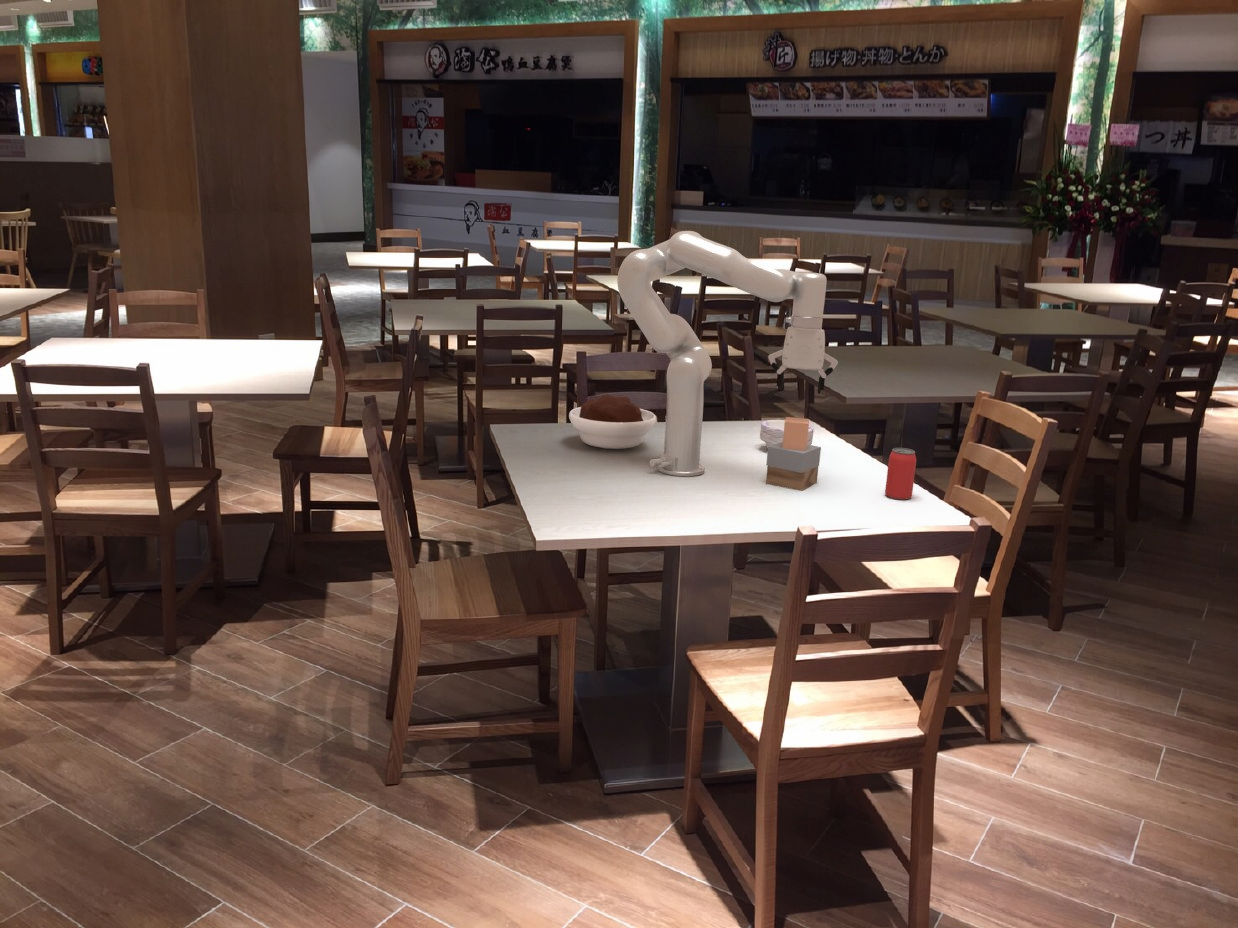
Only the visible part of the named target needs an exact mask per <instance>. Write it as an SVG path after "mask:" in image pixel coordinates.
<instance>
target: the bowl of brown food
mask: <svg viewBox="0 0 1238 928" xmlns="http://www.w3.org/2000/svg"><path fill="white" fill-rule="evenodd" d="M568 418H569V421H570V423H571V425H572V426H573V427H574V429H576V431H577V433H578V436H579V438H580V439H581V440H580V441H582V442H583V443H584V444H587V445H589V446H590V447H591V446H592V447H595V448H602V449H606V450H621V449H622V450H623V449H630V448H634V447H637V446H639V445H641V444H643V441H644V439H645V437H646V435H647V434H648V433H649V432H650V431H651V430H652V429H653V428H654V426H655V424H656V423H657V416H656V414H654V412H652V411H650V410H646V409H643V408H640V407H638V406H637V405H636V404H634V403H632V402H631V400H630V398H629V397H628V396H613V395H611V394H602V395H600V396H599V397H598V398H591V397H590V398H588V399H587V400H586V401H585V402H584V403H582V405H581V406H579V407H575V408H573V409H571V410H570V411H569V413H568Z"/></svg>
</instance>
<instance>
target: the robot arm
mask: <svg viewBox="0 0 1238 928" xmlns="http://www.w3.org/2000/svg"><path fill="white" fill-rule="evenodd" d="M685 268H686V269H689V270H691V271H694V272H697V273H700V274H702V275H704V276H708V277H710V278H712V279H715V280H718V281H720V282H721V283H724V284H726V285H728V286H731V287H734V288H736V289H738V290H740V291H743V292H745V293H748V294H750V295H753V296H755V297H757V298H761V299H763V300H765V301H769V302H773V303H779V302H783V301H785V300H793V302H792V303H793V306H792V314H791V316H786V317H785V323H788V324H790V326H788V327H787V329H786V333H785V336H784V337H785V338H784V342H783V348H782V349H780V350H778V351H775V352H773V353H771V354H769V355H768V356H767V358H768V362H769V363H770V366H771V368H772V369H774V371H775V373H776V374H777V379H776V386H777V387H778V391H782V390H783V385H784V384H783V383H784V374H785V373H784V371H785V370H787V369H795V370H805V371H817V372H818V373H819V377H818V385H817V394H819V395H820V394H821V391H825V389H824V388H825V381H826V380H825V379H826V378H827V377H828V376H829V375H830V374H832V372H833V371H835V368H836V367H838V364H839V361H838V360H837V359H836V358H834V357H832V356H831V355H829V354H828V353H826V352H825V347H826V346H825V345H826V336H825V334H826V333H825V330H824V329H822V328H823V317H824V309H825V308H824V307H825V301H826V292H827V291H826V290H827V281H828V280H827V277H826V276H827V275H825V274H823V273H820V272H819V273H817V272H809V271H807V272H805V271H804V272H798V271H793V270H788V269H780V268H779V269H774V268H772V267H769V266H765V265H763V264H760V263H758V262H755V261H753V260H751V259H749V258H748V257H745V256H744V255H742V254H741V253H740V252H739V251H738V250H736V249H734V248H732V247H729V246H727V245H724V244H722V243H719V242H716V241H713V240H710V239H708V238H706V237H703V236H702V235H701V234H700V233H698V232H696V231H693V230H682V231H681V230H680V231H678V232H676V233H674V234H673V235H672V236H671V237H670V239H668V240H665V241H663V242H661V243H658V244H656V245H653V246H651V247H649V248H648V247H647V248H643V249H636V250H634V251H632V252H631V253H629V254H628V255H627V256H626V257H625V258H624V259H623V260H622V263H621V265H620V267H619V270H618V273H617V280H616V281H617V283H616V284H617V289H618V293H619V296H620V298H621V300H622V302H623V304H624V306H626V308H627V310H628V311H629V313H630V314H631V316H632V318H633V319H634V321H635V323H636V324H637V326H638V328H639V329H640V330H641V332H642V333H643V335H644V337H645V338H646V340H647V342H648V343H649V345H650V347H651V348H652V349H653V350H654V351H655V352H658V353H660V354H666V356H667V358H669V360H670V362H669V364H668V367H667V371H666V409H665V410H666V411H665V412H666V414H665V415H666V416H665V430H664V447H663V448H664V449H663V450H664V451H663V453H661V454H660V457H658V458H654V459H652V458H651V459H650V460H649V466H650V467H652V468H653V467H657V468H656V469H657V471H658V472H660V473H662V474H666V475H670V476H677V477H694V476H695V477H696V476H700V475H703V474H704V473H705V471H706V467H705V466H704V465H703V464H700V460H701V459H700V458H701V445H702V444H701V441H702V428H703V415H704V414H703V413H704V384H705V383H704V382H705V381H706V380H707V378H708V377H709V376H710V374H711V372H712V369H713V368H712V367H713V365H712V359H711V357H710V355H709V353H708V352H707V350H706V348H705V347H704V345H703V344H702V342H701V341H700V339H699V338H698V336H697V334H696V333H695V331H694V330H693V328H692V327H691V326H690V324H689V323H688V322H687V320H686V319H685V318H683V317H682V316H680V315H679V314H675V313H671V312H670V311H669V309H667V307H666V305H665V304H664V303H663V301H662V299H661V298H660V296H659V295H658V293H657V292H656V291H655V289H653V286H652V284H651V282H654V281H658V280H660V279H663V278H664V277H667V276H670V275H672V274H675V273H676V272H679V271H681V270H683V269H685ZM779 357H782V358H781V363H782V364H781V365H780V366H779V364H777V362H776V359H777V358H779ZM825 360H826V361H827V362H829V363H830V365H829V367H828V368H826V369H824V368H823V366H824V362H825Z"/></svg>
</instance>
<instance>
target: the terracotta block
mask: <svg viewBox="0 0 1238 928" xmlns="http://www.w3.org/2000/svg"><path fill="white" fill-rule="evenodd" d="M784 420H785V424H784V435H783V447H782V449H792V450H803V451H806V449H807V439H808V428H809V424H810V418H803V417H802V418H800V417H789V416H785V419H784Z"/></svg>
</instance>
